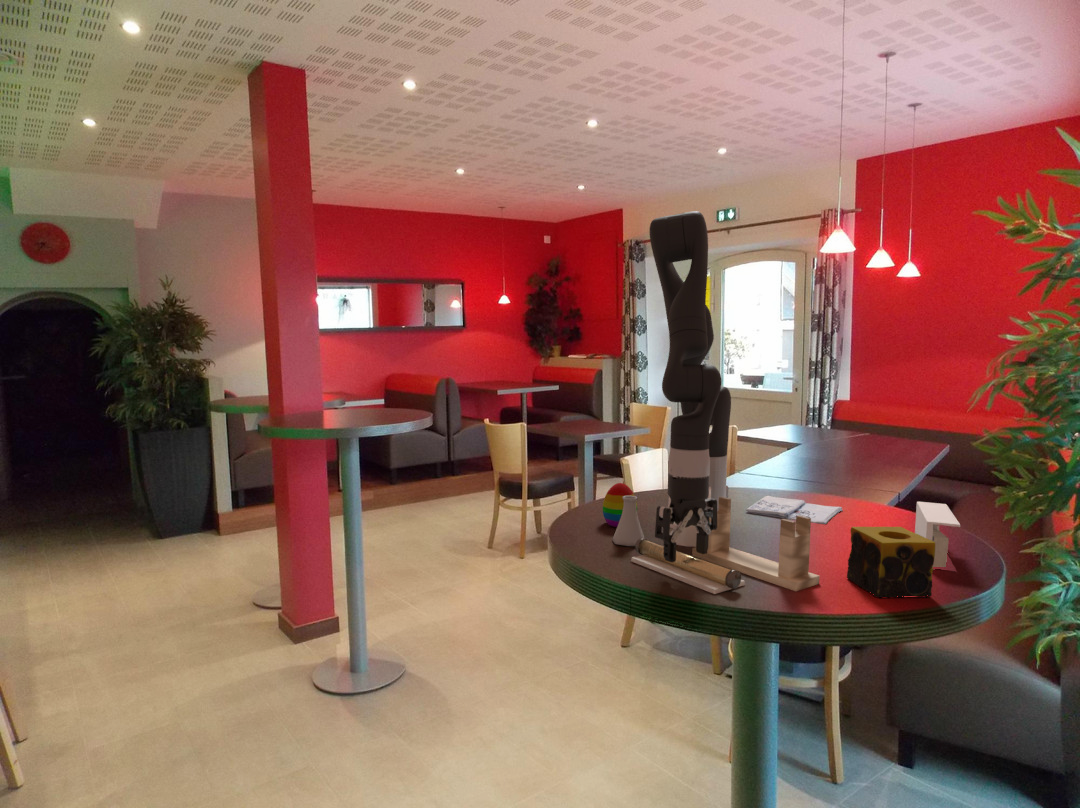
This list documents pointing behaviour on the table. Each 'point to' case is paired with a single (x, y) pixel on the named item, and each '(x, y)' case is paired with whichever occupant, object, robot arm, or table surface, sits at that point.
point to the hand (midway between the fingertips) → (686, 557)
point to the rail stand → (785, 573)
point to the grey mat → (682, 574)
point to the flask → (628, 524)
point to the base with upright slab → (687, 532)
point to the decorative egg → (615, 503)
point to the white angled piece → (935, 527)
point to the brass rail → (691, 564)
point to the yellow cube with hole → (891, 561)
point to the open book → (793, 509)
